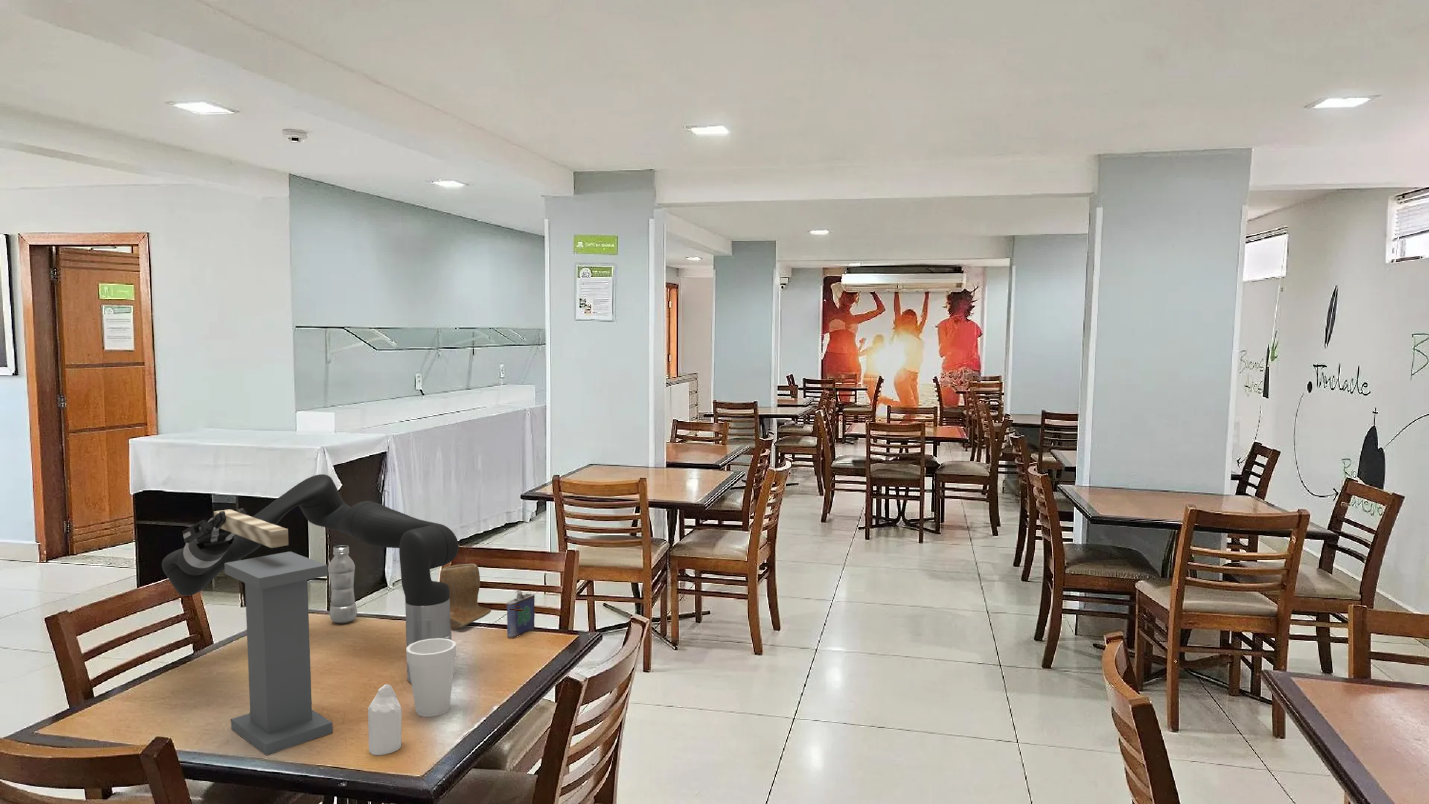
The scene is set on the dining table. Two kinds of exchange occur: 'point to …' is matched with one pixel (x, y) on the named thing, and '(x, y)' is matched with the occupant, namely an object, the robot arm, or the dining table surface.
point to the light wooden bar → (254, 529)
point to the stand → (278, 651)
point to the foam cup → (431, 674)
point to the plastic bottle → (342, 586)
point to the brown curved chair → (463, 594)
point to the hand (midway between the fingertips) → (233, 514)
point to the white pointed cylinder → (384, 722)
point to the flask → (520, 615)
